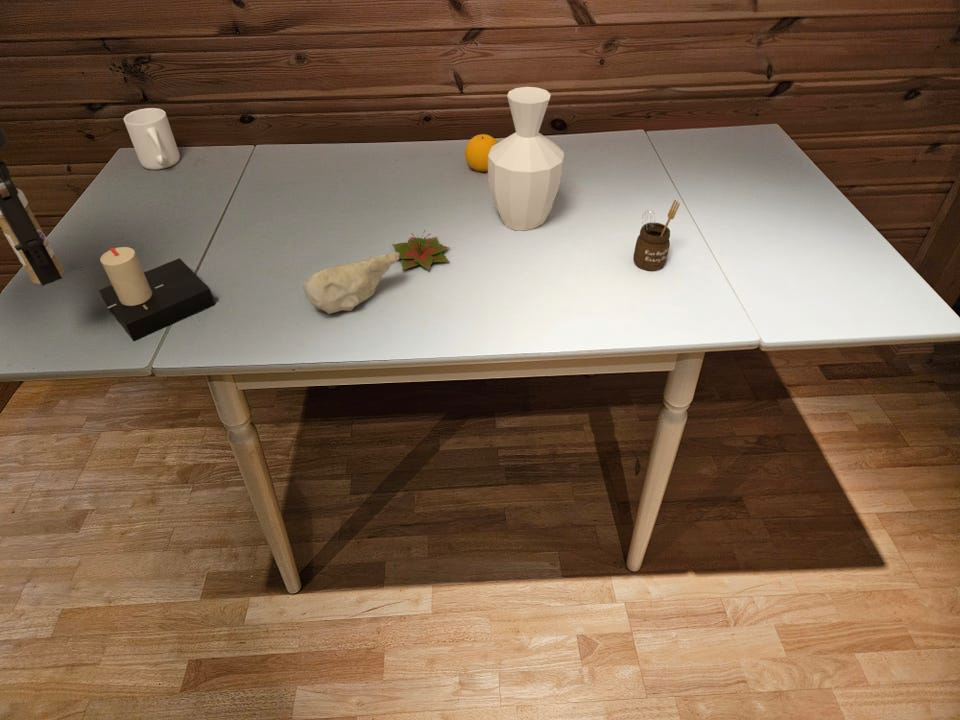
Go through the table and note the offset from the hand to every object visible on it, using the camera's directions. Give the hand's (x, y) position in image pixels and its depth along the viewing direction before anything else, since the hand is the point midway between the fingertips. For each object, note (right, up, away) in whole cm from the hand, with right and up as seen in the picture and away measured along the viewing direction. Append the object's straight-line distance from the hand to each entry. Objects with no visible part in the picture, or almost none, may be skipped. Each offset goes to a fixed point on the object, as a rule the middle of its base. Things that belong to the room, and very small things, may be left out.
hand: (45, 272), depth 97 cm
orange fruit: (+65, +30, +51) cm, 88 cm away
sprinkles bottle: (0, -1, +1) cm, 1 cm away
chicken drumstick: (+42, -2, +17) cm, 46 cm away
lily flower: (+53, +6, +26) cm, 59 cm away
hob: (+10, -4, +15) cm, 18 cm away
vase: (+73, +15, +35) cm, 82 cm away
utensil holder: (+95, +5, +24) cm, 98 cm away
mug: (-8, +31, +52) cm, 62 cm away
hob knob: (+7, -2, +11) cm, 14 cm away
